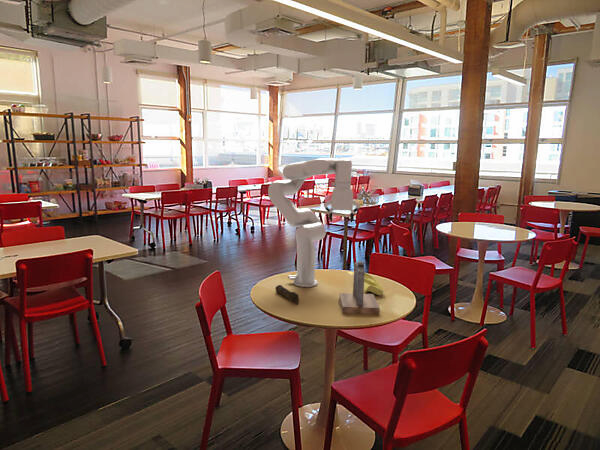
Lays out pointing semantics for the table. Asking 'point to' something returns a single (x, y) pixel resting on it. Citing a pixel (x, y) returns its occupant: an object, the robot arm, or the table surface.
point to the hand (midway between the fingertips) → (341, 221)
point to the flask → (359, 282)
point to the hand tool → (288, 294)
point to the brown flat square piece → (351, 308)
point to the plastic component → (372, 285)
